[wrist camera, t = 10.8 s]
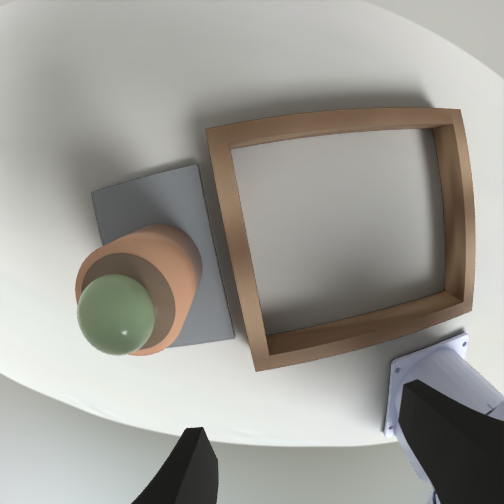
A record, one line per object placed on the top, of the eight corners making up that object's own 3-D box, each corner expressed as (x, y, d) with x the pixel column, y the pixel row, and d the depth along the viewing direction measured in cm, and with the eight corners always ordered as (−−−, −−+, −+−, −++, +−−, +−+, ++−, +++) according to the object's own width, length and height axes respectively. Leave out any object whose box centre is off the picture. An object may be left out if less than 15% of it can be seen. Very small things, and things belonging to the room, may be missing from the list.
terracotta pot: (211, 299, 18) (189, 388, 10) (135, 311, 18) (74, 391, 10) (192, 215, 17) (145, 245, 9) (113, 233, 17) (25, 273, 9)
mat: (234, 334, 19) (234, 338, 19) (138, 347, 19) (136, 351, 19) (198, 164, 17) (197, 164, 16) (94, 192, 17) (91, 192, 17)
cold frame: (453, 299, 20) (471, 310, 17) (254, 351, 20) (255, 371, 17) (439, 115, 16) (460, 109, 14) (210, 136, 17) (205, 128, 14)
